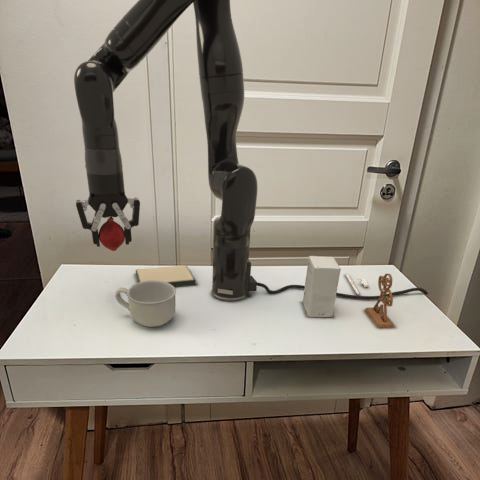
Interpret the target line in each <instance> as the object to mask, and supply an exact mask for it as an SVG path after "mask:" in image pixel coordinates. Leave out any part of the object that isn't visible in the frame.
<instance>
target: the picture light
mask: <svg viewBox="0 0 480 480" xmlns="http://www.w3.org/2000/svg"><path fill="white" fill-rule="evenodd" d="M345 277H346V278H347V280H348V282H349V283H350V285H351V287H352V288H353V290H354V292H355V295H357V296H360V292H359V290H358V289H357V287H356V286H355V284H354V282H355V281H357V280H359V281H360V284H361V285H362V286H363V287H364V288H368V287H369V283H368V282H367V281H366V279H363V278H362V279H361V278H359V277H358V278H357V277H355V278H353V279H352V278H351V276H350V275H349V274H348V273H345Z"/></svg>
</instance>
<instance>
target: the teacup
mask: <svg viewBox="0 0 480 480" xmlns="http://www.w3.org/2000/svg"><path fill="white" fill-rule="evenodd" d="M121 293H122V294H124V295H126V297H127V299H128V302H127V301H126V300H124V299H123V298H122V296H121ZM176 294H177V289H176V287H174V286H172V285H171V284H169V283H167V282H164V281H154V280H151V281H143V282H139V283H138V282H137V283H134V284H133V285H131V286H130V287H129V288H126V287H119V288H118V289H117V290H116V291H115V294H114V298H115V300H116V302H117V303H119V305H121V306H122V307H124V308H125V309H127V310H128V312H129V314H130V316H131V318H132V320H133V321H135V322H136V323H138V324H139V325H141V326H144V327H147V328H157V327H161V326H164V325H165V324H167V323H168V322H170V321H171V320H172V319H173V318H174V315H175V313H176V308H177V307H176V304H177V303H176Z"/></svg>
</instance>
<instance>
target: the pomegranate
mask: <svg viewBox="0 0 480 480" xmlns="http://www.w3.org/2000/svg"><path fill="white" fill-rule="evenodd" d="M114 218H115V217H107V220H106V221H105V222H104V223H102V225H101V226H100V228H99V229H98V234H99V242H100V243H101V245H102V246H103V247H105V248H106V249H108V250H110V251H112V252H115V251H117V250H118V249H119V248H120V247H121V246H122V245H123V244H124V242H125V233H124V227H123V226H121V225H120V223H118V222H117V221H114Z"/></svg>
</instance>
